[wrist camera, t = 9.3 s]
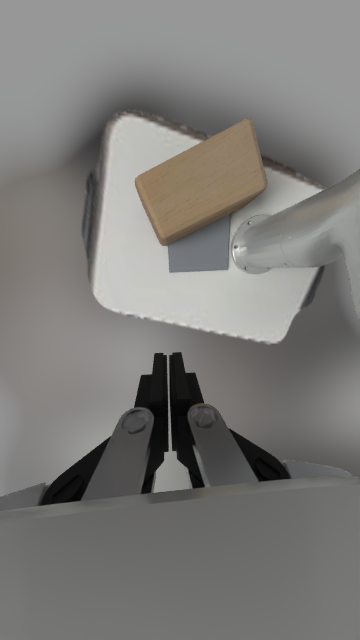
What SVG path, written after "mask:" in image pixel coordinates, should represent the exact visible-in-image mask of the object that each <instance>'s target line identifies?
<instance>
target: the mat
mask: <svg viewBox="0 0 360 640" xmlns="http://www.w3.org/2000/svg"><path fill="white" fill-rule="evenodd" d="M229 222H230V214H229V215H227V216H225V217H223V218H221V219H219V220H217V221H215V222H213V223H211V224H209V225H207V226H205V227H203V228H201V229H199V230H197V231H195V232H193V233H191V234H189V235H187V236H185V237H183V238H181V239H178V240H176V241H174V242H172V243H170V244H168V254H169V270H170V272H191V271H213V270H228V247H229Z"/></svg>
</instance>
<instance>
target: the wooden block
mask: <svg viewBox="0 0 360 640" xmlns="http://www.w3.org/2000/svg"><path fill="white" fill-rule="evenodd" d="M135 186H136V189H137V192H138V194H139V197H140V200H141V202H142V205H143V207H144V209H145V211H146V213H147V216H148V218H149V220H150V222H151V224H152V227H153V229H154V231H155V233H156V235H157V238H158V240H159V242H160V244H161V245H162V246H166V245H168V244H170V243H172V242H174V241H176V240H178V239H181V238H183V237H185V236H187V235H189V234H191V233H193V232H195V231H197V230H199V229H201V228H203V227H205V226H207V225H209V224H211V223H213V222H215V221H217V220H219V219H221V218H223V217H225V216H227V215H229V214H231V213H233V212H235V211H237V210H239V209H241V208H243V207H244V206H245V205H246V204H248V203H249V202H250V201H252V200H253V199H254V198H255V197H257V196H258V195H259V194H261V193H262V192H263V191H264V190H265V189H266V187H267V180H266V175H265V171H264V167H263V163H262V158H261V154H260V150H259V146H258V141H257V137H256V133H255V128H254V124H253V121H252V120H251V119H250V118H247V119H245V120H243V121H241V122H239V123H237V124H235V125H234V126H232V127H230V128H228V129H226V130H224V131H223V132H220V133H218V134H217V135H215V136H213V137H211V138H209V139H207V140H205V141H203V142H201V143H199V144H198V145H196V146H194V147H192V148H190V149H188V150H186V151H184V152H182V153H181V154H179V155H177V156H175V157H173V158H171V159H169V160H167V161H165V162H163V163H162V164H160V165H158V166H156V167H154V168H152V169H150V170H148V171H146V172H145V173H143V174H141V175H139V176H138V177H137V178H136V179H135Z"/></svg>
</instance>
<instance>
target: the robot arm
mask: <svg viewBox="0 0 360 640" xmlns="http://www.w3.org/2000/svg"><path fill="white" fill-rule="evenodd" d="M248 223H249V224H248ZM234 246H235V248H234ZM231 252H232V257H233V260H234V262H235V264H236V265H237V267H238V268H240V269H241V270H242V271H244V272H246V273H249V274H260V273H264V272H266V271H268V270H270V269H271V268H273V267H288V268H305V267H319V266H323V265H326V264H328V263H330V262H333V261H335V260H337V259H338V258H340V257H341V256H343V255H344V256H345V261H346V267H347V268H348V274H349V280H350V286H351V292H352V298H353V303H354V307H355V312H356V314H357V316H358V318H359V319H360V169H359V170H357V171H356V172H354V173H353V174H351V175H350V176H348V177H346V178H345V179H343V180H341V181H340V182H338V183H336V184H334V185H332V186H331V187H329V188H327V189H325V190H323V191H321V192H319V193H317V194H315V195H313V196H311V197H309V198H307V199H305V200H303V201H301V202H299V203H297V204H295V205H293V206H291V207H289V208H287V209H285V210H283V211H281V212H279V213H277V214H275V215H272V216H268V215H257V216H254V217H251V218H250V219H248V220H246V221H245V222H244V223H242V224H241V226H240V227H239V228H238V229H237V231H236V232H235V235H234V237H233V240H232V245H231ZM244 268H245V269H244ZM169 362H170V363H169V366H170V367H169V369H170V370H169V371H170V412H171V435H172V451H177V459H178V460H179V461H180V462H181V463H182V464H183V465H184V466H185V467H186V474H187V478H188V482H189V487H190V489H186V490H176V491H167V492H158V493H153V491H154V485H155V479H156V470H157V469H158V468H159V466H160V465H161V464H162V463H163V461H164V452H168V451H169V450H168V448H169V447H168V446H169V445H168V385H167V355H163V353H155V355H154V363H153V372H152V375H141V378H140V383H139V388H138V392H137V396H136V401H135V406H134V408H132V409H130V410H128V411H126V412H125V413H124V414H123V415H122V416H121V418H120V419H119V421H118V423H117V425H116V427H115V429H114V432H113V434H112V436H110V437H109V438H108V439H106V440H105V441H104V442H103V443H101V444H100V445H99V446H97V447H96V448H95V449H93V450H92V451H91V452H90V453H88V454H87V455H86V456H84V457H83V458H82V459H81V460H79V461H78V462H77V463H75V464H74V465H73V466H71V467H70V468H69V469H68V470H66V471H65V472H64V473H62V474H61V475H60V476H59V477H58V478H57V479H56V480H55V481H53V483H52V484H49V485H46V483H45V482H44V483H41V484H38V485H35V486H32V487H29V488H26V489H23V490H20V491H17V492H14V493H10V494H8V495H5V496H1V497H0V640H360V478H359V477H354V476H353V475H351V474H350V473H348V472H346V471H344V470H342V469H339V468H335V467H330V466H323V465H317V464H311V463H305V462H299V461H292V460H286V459H284V462H280V461H278V460H277V459H276V458H275V457H274V456H272V455H271V454H269V453H268V452H266V451H265V450H263V449H261V448H260V447H258V446H257V445H254V444H253V443H252V442H250V441H249V440H247V439H245V438H244V437H242V436H240V435H239V434H237V433H236V432H234V431H233V430H231V429H229V428H228V427H227V425H226V423H225V421H224V420H223V418H222V416H221V414H220V413H219V411H218V410H217V409H216V408H214V407H213V406H211V405H209V404H204V401H203V398H202V394H201V391H200V388H199V384H198V381H197V377H196V374H195V373H185V368H184V363H183V359H182V354H181V352H178V353H177V352H176V353H173V355H170V356H169Z"/></svg>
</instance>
